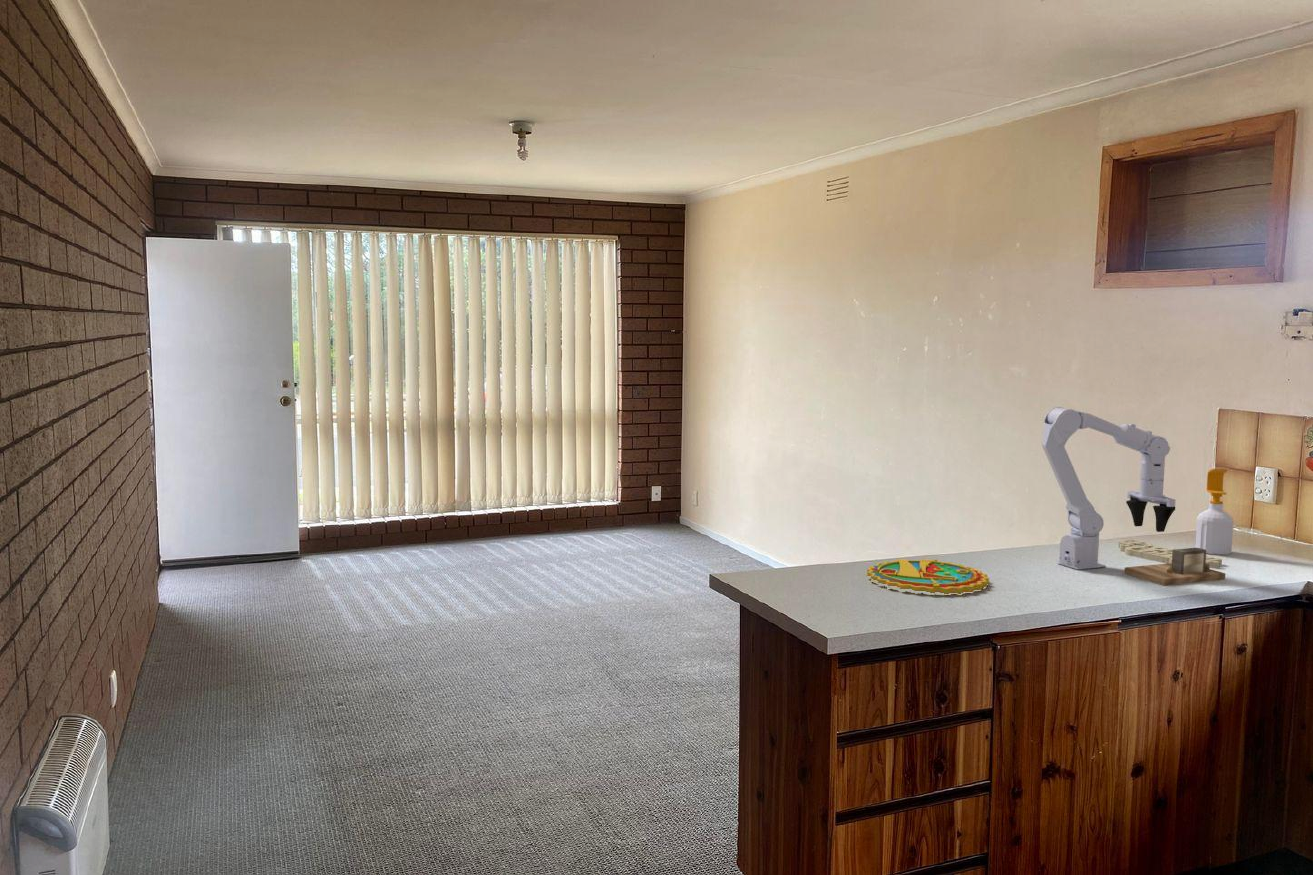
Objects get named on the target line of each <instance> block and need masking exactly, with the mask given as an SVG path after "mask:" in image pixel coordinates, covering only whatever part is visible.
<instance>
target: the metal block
mask: <svg viewBox="0 0 1313 875" xmlns="http://www.w3.org/2000/svg"><path fill="white" fill-rule="evenodd" d="M1173 549H1174V548H1173ZM1206 556H1207V554H1206V550H1204V549H1200V548H1195V547H1191V548H1190V547H1189V548H1188V547H1186V548H1177V549H1174V550H1173V552H1172V572H1174V573H1177V574H1191V573H1201V572H1205V563H1206Z"/></svg>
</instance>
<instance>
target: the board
mask: <svg viewBox="0 0 1313 875" xmlns="http://www.w3.org/2000/svg"><path fill="white" fill-rule="evenodd" d="M1123 570H1124V574H1125V575H1129V576H1132V577H1135V578H1138V579H1141V580H1144V581H1148V582H1151V583H1154V584H1158V585H1159V586H1160V585H1161V586H1170V585H1171V586H1172V585H1184V584H1193V583H1194V584H1195V583H1203V582H1211V581H1212V582H1213V581H1214V582H1215V581H1223V580H1226V572H1221V571H1218V570H1216V569H1215V570H1214V569H1212V568H1210V564H1209V563H1205V572H1201V573H1191V574H1177V573H1174V572H1172V563H1168V564H1166V563H1158V564H1147V565H1137V566H1135V565H1134V566H1127V567H1124V569H1123Z"/></svg>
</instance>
